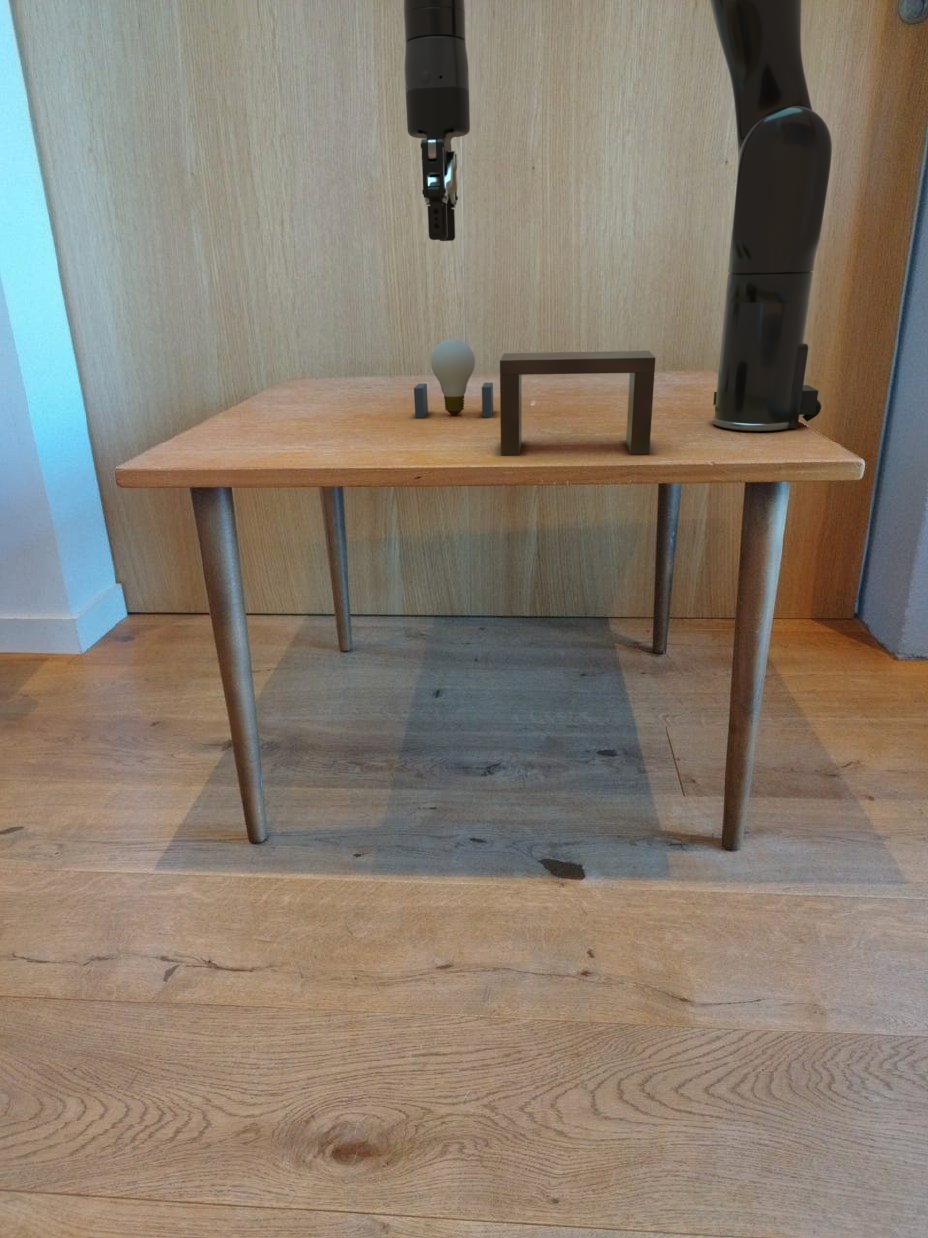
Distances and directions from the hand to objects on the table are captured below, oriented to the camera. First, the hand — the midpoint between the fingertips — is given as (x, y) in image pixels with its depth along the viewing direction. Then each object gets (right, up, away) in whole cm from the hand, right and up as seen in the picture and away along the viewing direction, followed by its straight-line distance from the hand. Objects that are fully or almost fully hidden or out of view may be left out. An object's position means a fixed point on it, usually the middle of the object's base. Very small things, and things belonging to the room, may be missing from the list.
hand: (442, 240), depth 103 cm
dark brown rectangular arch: (+15, -29, -11) cm, 34 cm away
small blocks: (+1, -20, +10) cm, 22 cm away
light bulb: (+1, -20, +10) cm, 22 cm away
